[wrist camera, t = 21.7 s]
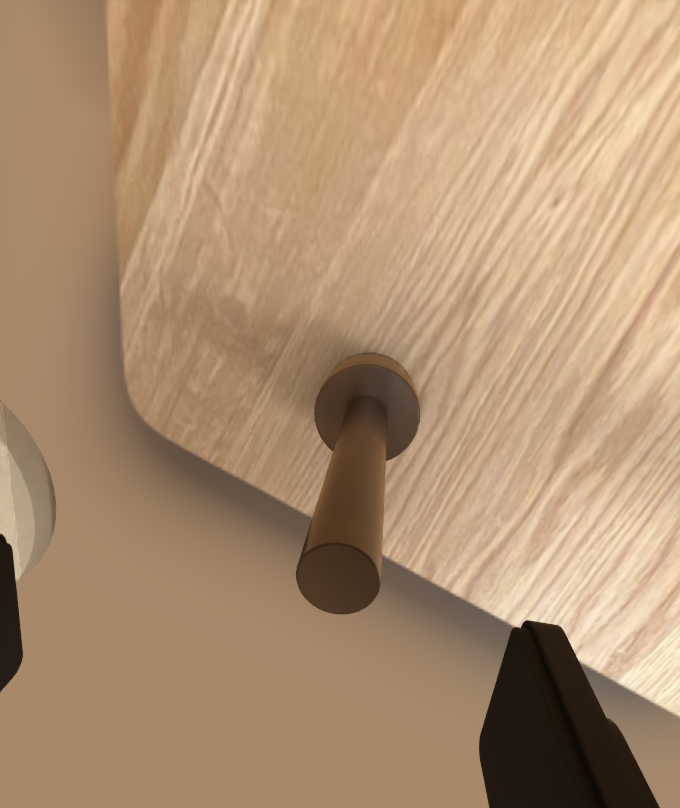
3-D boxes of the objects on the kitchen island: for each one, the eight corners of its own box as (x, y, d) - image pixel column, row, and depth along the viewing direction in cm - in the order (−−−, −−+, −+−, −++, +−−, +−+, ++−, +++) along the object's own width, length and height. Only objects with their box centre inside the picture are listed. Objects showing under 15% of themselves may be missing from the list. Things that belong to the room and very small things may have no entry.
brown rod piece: (318, 432, 26) (228, 644, 12) (329, 344, 25) (239, 466, 10) (408, 446, 26) (425, 681, 12) (424, 358, 24) (467, 504, 10)
